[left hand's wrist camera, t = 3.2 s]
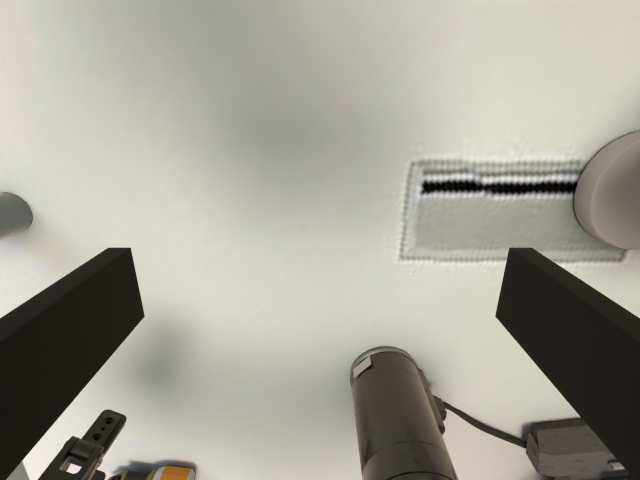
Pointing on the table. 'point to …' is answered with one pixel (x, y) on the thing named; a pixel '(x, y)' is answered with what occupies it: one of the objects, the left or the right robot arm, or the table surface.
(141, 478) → the spray gun
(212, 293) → the table surface
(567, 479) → the toy
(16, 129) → the table surface
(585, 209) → the bust sculpture
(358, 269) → the table surface
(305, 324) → the table surface
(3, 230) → the jar
